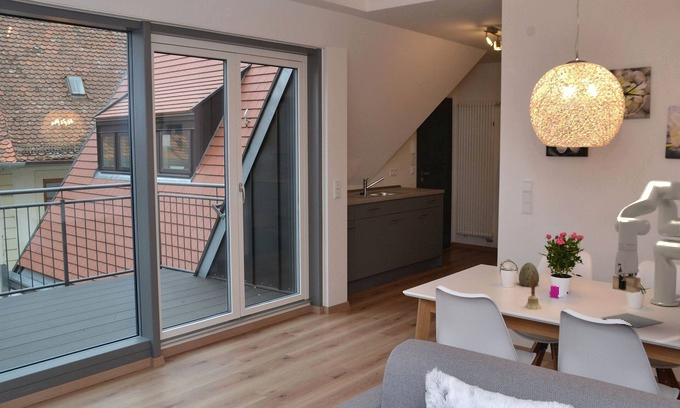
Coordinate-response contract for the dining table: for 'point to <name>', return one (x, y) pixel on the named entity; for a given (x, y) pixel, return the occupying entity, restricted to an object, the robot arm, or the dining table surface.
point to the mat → (634, 320)
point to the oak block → (628, 284)
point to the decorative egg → (528, 275)
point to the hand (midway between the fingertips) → (626, 288)
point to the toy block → (554, 292)
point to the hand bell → (533, 297)
